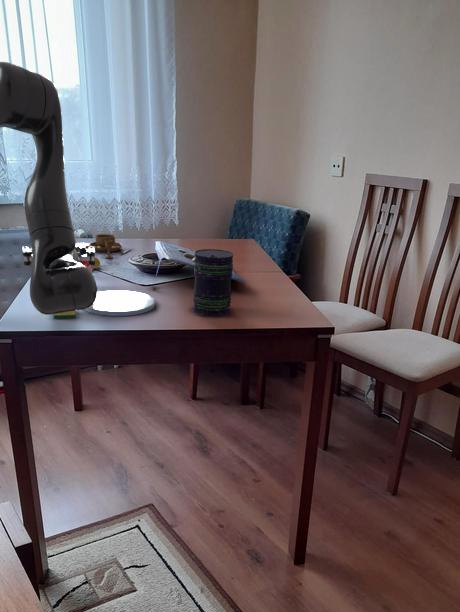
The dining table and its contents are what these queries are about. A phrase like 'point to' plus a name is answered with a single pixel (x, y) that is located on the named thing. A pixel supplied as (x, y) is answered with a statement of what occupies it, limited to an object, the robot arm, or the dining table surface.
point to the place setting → (106, 244)
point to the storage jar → (212, 282)
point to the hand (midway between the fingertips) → (58, 247)
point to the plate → (121, 303)
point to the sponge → (65, 315)
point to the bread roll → (96, 263)
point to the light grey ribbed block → (181, 256)
